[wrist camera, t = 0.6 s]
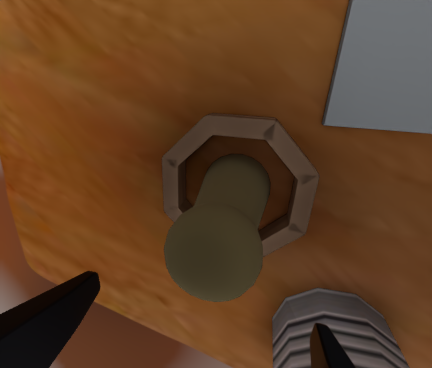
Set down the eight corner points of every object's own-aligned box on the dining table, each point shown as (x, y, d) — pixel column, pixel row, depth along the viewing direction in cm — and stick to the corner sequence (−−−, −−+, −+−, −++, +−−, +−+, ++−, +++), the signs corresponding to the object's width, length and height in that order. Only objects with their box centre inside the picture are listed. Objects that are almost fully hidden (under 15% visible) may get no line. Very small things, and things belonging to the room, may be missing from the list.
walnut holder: (325, 121, 17) (332, 124, 15) (294, 254, 22) (297, 268, 20) (170, 109, 19) (159, 111, 17) (173, 232, 24) (165, 244, 22)
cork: (207, 148, 20) (145, 203, 10) (277, 160, 19) (287, 236, 9) (201, 208, 22) (144, 302, 12) (262, 222, 21) (257, 336, 11)
